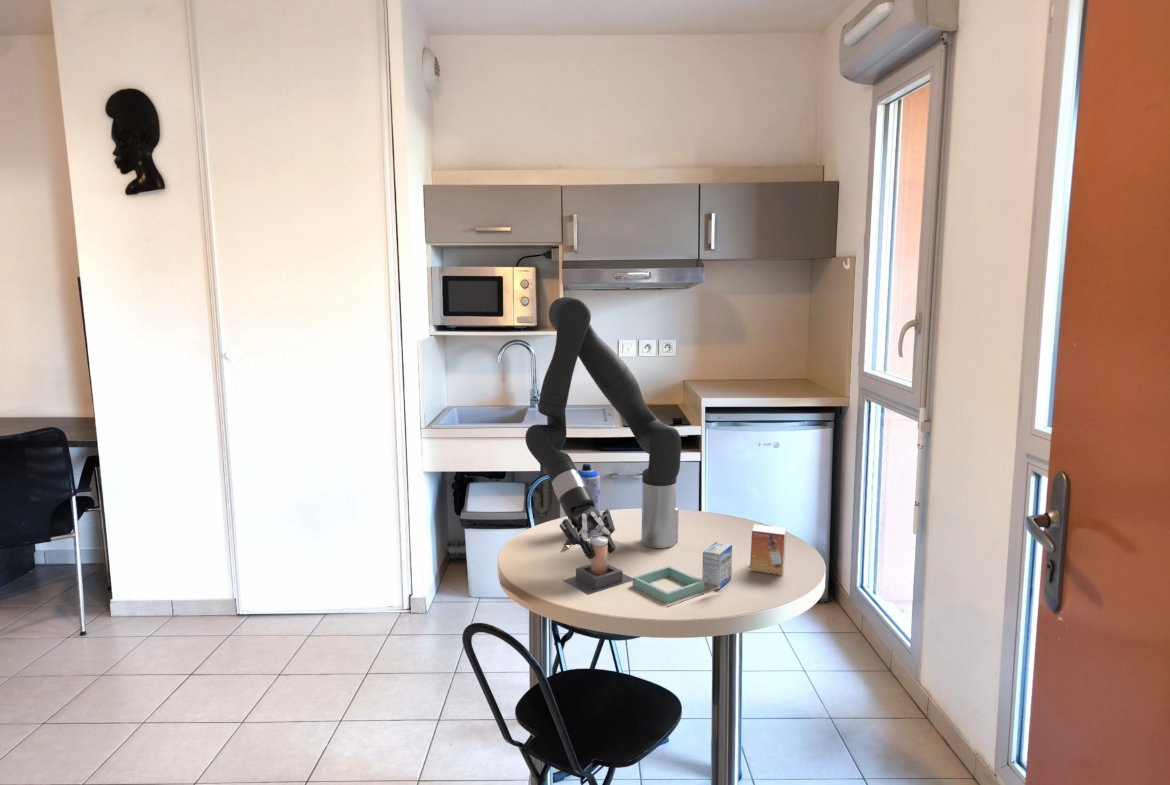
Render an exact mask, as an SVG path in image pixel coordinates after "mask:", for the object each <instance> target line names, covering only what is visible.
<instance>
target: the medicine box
mask: <svg viewBox="0 0 1170 785" xmlns="http://www.w3.org/2000/svg"><path fill="white" fill-rule="evenodd" d="M732 561H733V545H732V544H730V543H726V542H718V541H715V542H714V543H712V544H711V545H709V547H708V548H706V549H705V550H704V551H702V570H701V571H702V575H701V577H702V579H701V580H702V581H704V584H707V585H711V586H716V587H718V588H717V590H718V591H719V590H721V589H722V588H723V587H724V586H725V585H726V584H727V583H728V582H729V581H730V580H731V579H732V567H733V566H732V565H733V564H732V563H733V562H732Z"/></svg>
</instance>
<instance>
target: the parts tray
mask: <svg viewBox="0 0 1170 785" xmlns="http://www.w3.org/2000/svg"><path fill="white" fill-rule="evenodd" d="M666 577H670V578H673V579H675V580H676V581H679V582H682V583H684V584H686V585H685V586H681V587H680V588H679V587H678V588H676V589H673V590H670V591H665V590H663V589H661V588H659V587H658V586H655V585H654V584H652V583H651V582H655V581H658V580H661V579H663V578H666ZM632 578H633V581H632V587H634V588H635V589H638V590H640V591H642V592H643V593H646V594H648V595H649V596H652V597H653V598H656V599H658V600H660V601H662V602H664V603H666V604H669V603H672V602H675V601H678V600H681V599H684V598H686V597H689V596H691V595H695V594H697V593H700V592H703V591H705V583H704V581H702V579H700V578H697V577H695V576H693V575H691V574H689V573H686V572H684V571H682V570H679V569H678V568H675V567H673V566H670V565H667V566H665V567H662V568H659V569H655V570H652V571H648V572H646V573H642V574H639V575H636V576H633V577H632ZM703 595H704V593H700V594H698V595H696V596H693V597H690V598H687V599H685V600H682V601H679V602H676V603H673V604H670V605H668V606H667V608H671V607H672V606H675V605H678V604H681V603H683V602H686V601H689V600H691V599H692V600H693V599H694V598H696V597H697V598H698V597H700V596H703Z"/></svg>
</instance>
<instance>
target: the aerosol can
mask: <svg viewBox="0 0 1170 785" xmlns="http://www.w3.org/2000/svg"><path fill="white" fill-rule="evenodd" d="M591 467H592V466H591V465H590V464H589V463H583V464H582V468H580V469H579V470H577V471H578V473H579V474H580V476H581V477H582V479H583V481H584V483H585V485H586V487H587V489H588V491H589V493H590V495H591V497H592V499H593V501H594V506H595V508H596V509H597V510H598V511H601V477H600V474H599V473H598V472H597V471H596V470H595V469H593V468H591ZM599 519H600V520H601V518H600V517H599ZM572 527H573V528H574V530H575V531H576V527H574V526H573V525H572ZM598 527H599V526H598V525H597V528H598ZM595 536H599V535H598V534H595V533H594V532H593V531H592V530H591V531H589V530H588V531H587V537H595Z"/></svg>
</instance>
